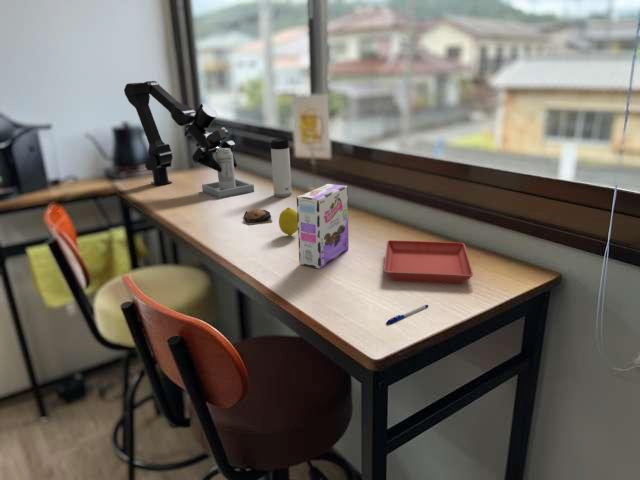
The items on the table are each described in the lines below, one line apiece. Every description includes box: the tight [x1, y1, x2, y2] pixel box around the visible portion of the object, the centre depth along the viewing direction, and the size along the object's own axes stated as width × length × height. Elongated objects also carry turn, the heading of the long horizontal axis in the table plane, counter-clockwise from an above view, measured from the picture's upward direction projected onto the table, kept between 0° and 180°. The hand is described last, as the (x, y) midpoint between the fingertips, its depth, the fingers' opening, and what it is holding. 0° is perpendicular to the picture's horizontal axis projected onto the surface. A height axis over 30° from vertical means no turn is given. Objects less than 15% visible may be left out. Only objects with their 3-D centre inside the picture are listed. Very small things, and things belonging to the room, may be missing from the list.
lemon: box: [278, 206, 298, 237], centre depth 128 cm, size 6×6×8 cm
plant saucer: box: [383, 239, 474, 284], centre depth 106 cm, size 18×18×3 cm
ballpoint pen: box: [385, 304, 429, 326], centre depth 87 cm, size 10×1×1 cm, turn 127°
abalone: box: [243, 208, 273, 226], centre depth 144 cm, size 11×8×4 cm
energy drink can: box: [215, 148, 236, 190], centre depth 174 cm, size 6×6×15 cm
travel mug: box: [270, 137, 293, 198], centre depth 166 cm, size 6×7×20 cm
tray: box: [201, 178, 255, 200], centre depth 176 cm, size 14×14×2 cm
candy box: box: [296, 183, 350, 269], centre depth 111 cm, size 14×6×16 cm, turn 148°
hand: (228, 168), depth 173 cm, fingers open, 8 cm apart
